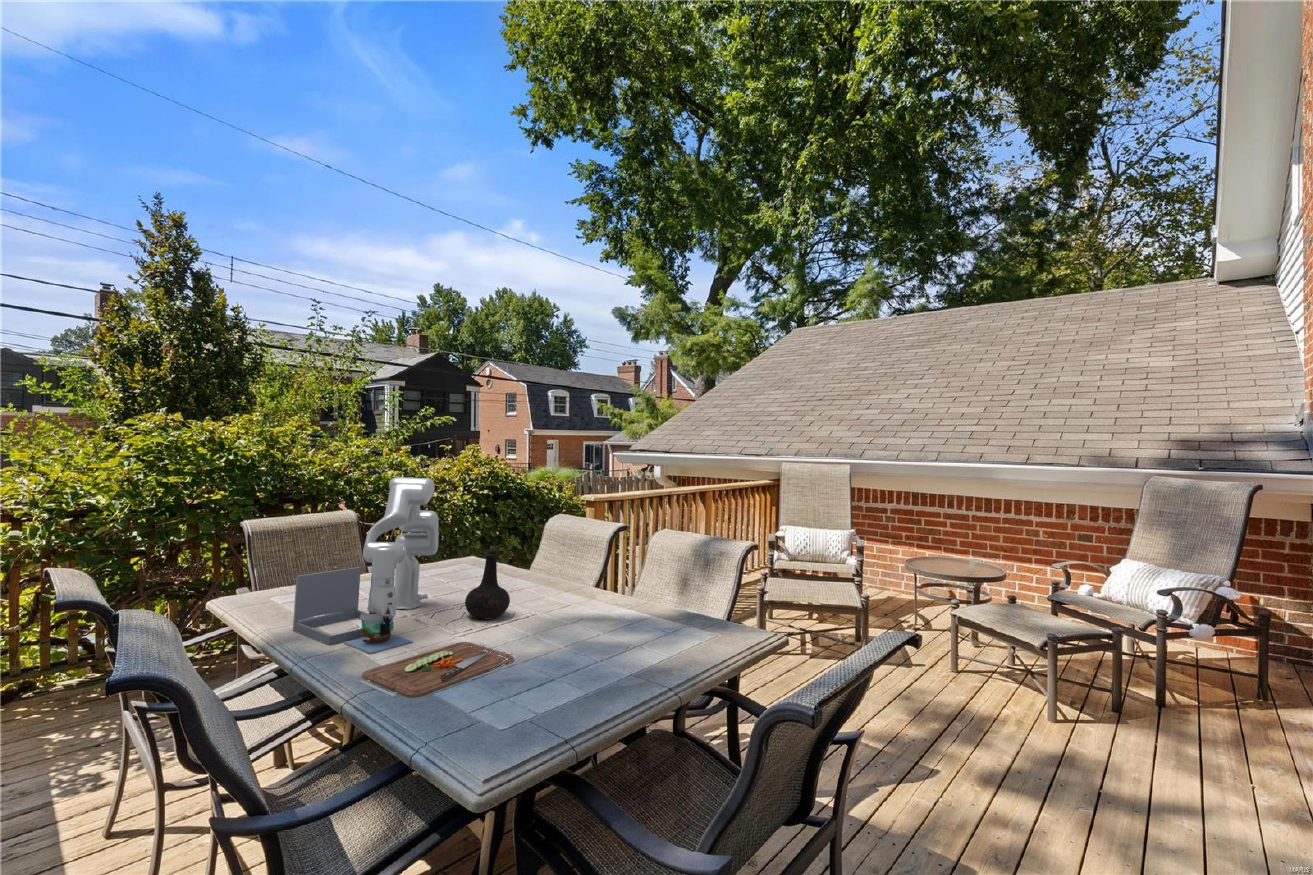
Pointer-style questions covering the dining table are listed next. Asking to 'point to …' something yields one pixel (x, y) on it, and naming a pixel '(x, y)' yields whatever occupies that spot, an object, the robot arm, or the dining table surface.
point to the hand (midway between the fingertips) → (379, 632)
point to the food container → (373, 627)
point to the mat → (378, 644)
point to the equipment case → (327, 603)
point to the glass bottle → (488, 592)
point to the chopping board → (435, 669)
